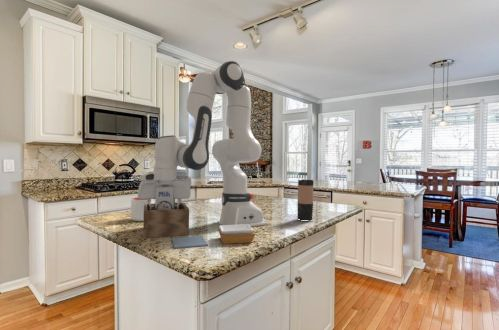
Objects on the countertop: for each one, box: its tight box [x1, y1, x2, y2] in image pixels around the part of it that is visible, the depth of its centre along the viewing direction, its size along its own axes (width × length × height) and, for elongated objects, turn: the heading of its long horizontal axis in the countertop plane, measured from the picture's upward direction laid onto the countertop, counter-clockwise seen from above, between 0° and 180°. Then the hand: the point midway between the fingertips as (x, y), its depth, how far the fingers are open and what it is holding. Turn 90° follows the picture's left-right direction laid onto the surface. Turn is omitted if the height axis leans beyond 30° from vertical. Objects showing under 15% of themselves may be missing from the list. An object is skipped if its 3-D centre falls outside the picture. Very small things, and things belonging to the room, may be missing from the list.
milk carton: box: [154, 184, 176, 210], centre depth 113 cm, size 7×7×20 cm
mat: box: [171, 235, 209, 249], centre depth 99 cm, size 11×11×1 cm
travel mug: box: [296, 179, 314, 221], centre depth 140 cm, size 8×8×20 cm
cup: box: [130, 196, 155, 222], centre depth 134 cm, size 10×10×10 cm
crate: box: [142, 202, 190, 239], centre depth 113 cm, size 16×16×10 cm
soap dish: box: [217, 224, 256, 245], centre depth 103 cm, size 12×10×5 cm
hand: (164, 210), depth 113 cm, fingers open, 8 cm apart
